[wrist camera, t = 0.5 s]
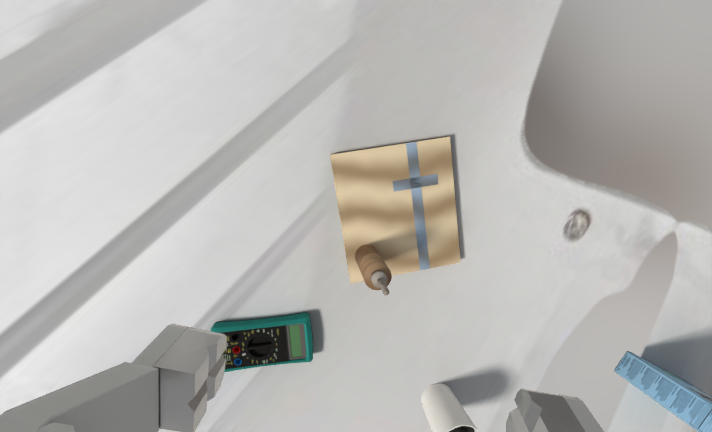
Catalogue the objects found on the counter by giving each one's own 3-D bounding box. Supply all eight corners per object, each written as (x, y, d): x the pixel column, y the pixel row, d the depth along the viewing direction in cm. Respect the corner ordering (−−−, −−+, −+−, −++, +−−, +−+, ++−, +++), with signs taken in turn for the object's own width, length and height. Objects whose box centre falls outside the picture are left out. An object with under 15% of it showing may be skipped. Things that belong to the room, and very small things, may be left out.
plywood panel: (330, 154, 52) (330, 154, 51) (446, 136, 54) (450, 136, 53) (350, 280, 56) (351, 283, 55) (457, 259, 58) (460, 262, 57)
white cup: (429, 376, 62) (452, 419, 52) (461, 387, 63) (489, 432, 53) (412, 407, 63) (431, 455, 53) (443, 418, 64) (468, 467, 54)
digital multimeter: (210, 321, 55) (205, 331, 52) (310, 310, 57) (310, 319, 54) (216, 364, 56) (211, 377, 53) (313, 352, 58) (314, 363, 55)
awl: (353, 246, 54) (369, 281, 40) (376, 242, 54) (400, 275, 41) (356, 268, 55) (373, 310, 41) (379, 264, 55) (403, 304, 41)
